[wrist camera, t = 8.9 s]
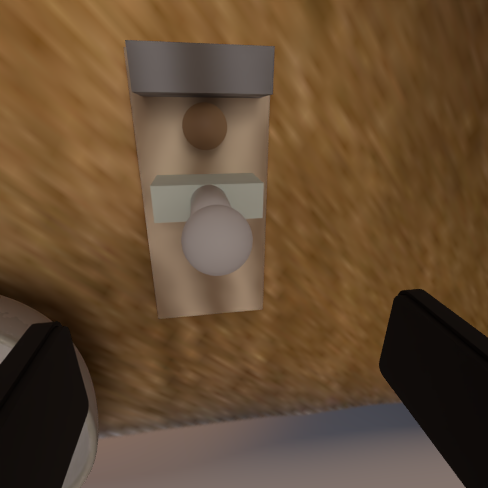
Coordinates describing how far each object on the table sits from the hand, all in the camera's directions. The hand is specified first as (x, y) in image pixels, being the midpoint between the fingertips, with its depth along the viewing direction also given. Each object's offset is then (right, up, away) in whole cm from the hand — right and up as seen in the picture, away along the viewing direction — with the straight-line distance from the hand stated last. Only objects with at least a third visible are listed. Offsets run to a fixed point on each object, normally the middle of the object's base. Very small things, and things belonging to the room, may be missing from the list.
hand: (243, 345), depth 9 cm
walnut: (-4, +14, +18) cm, 23 cm away
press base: (-4, +8, +23) cm, 24 cm away
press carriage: (-4, +8, +20) cm, 22 cm away
